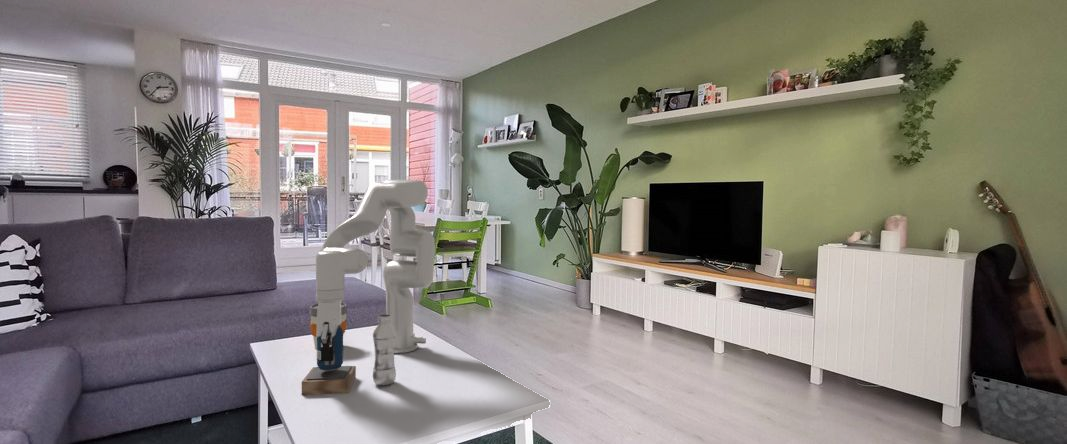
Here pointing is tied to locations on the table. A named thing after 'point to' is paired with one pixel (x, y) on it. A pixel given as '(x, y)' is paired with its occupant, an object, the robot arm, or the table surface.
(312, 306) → the reusable coffee cup
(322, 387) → the walnut base
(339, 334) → the soda can
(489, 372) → the table surface
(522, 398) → the table surface
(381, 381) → the plastic bottle
